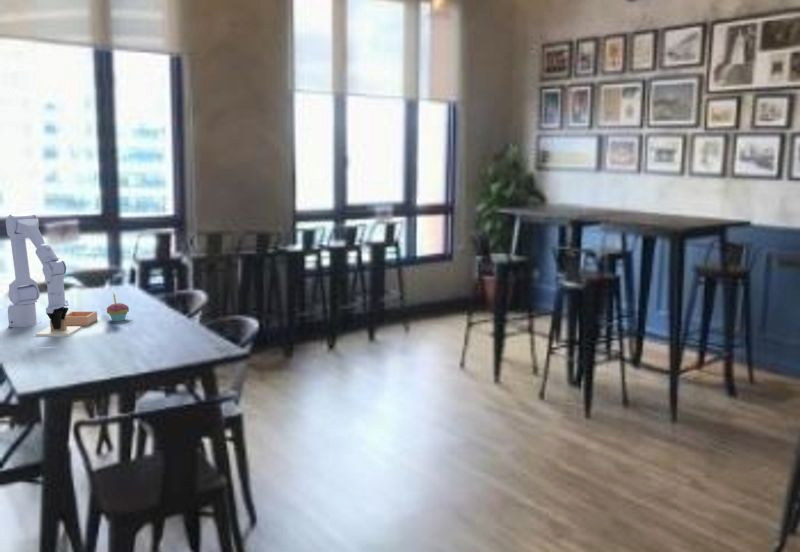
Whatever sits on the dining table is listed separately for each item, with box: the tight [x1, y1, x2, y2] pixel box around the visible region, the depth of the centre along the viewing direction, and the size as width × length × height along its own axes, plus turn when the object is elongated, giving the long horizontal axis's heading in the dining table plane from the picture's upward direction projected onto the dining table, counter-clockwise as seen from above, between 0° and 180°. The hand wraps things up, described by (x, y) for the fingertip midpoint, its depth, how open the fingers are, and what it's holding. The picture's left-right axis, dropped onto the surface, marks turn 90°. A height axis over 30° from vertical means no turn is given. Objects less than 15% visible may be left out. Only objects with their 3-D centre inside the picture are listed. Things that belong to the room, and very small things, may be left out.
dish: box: [65, 310, 98, 327], centre depth 298 cm, size 10×10×4 cm
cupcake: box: [106, 292, 130, 322], centre depth 303 cm, size 9×8×12 cm
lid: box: [35, 319, 82, 336], centre depth 283 cm, size 12×12×5 cm
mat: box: [31, 327, 85, 338], centre depth 283 cm, size 14×14×1 cm
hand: (58, 328), depth 283 cm, fingers closed on lid, 2 cm apart
